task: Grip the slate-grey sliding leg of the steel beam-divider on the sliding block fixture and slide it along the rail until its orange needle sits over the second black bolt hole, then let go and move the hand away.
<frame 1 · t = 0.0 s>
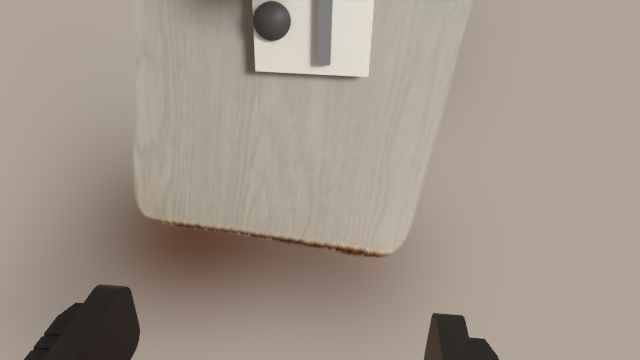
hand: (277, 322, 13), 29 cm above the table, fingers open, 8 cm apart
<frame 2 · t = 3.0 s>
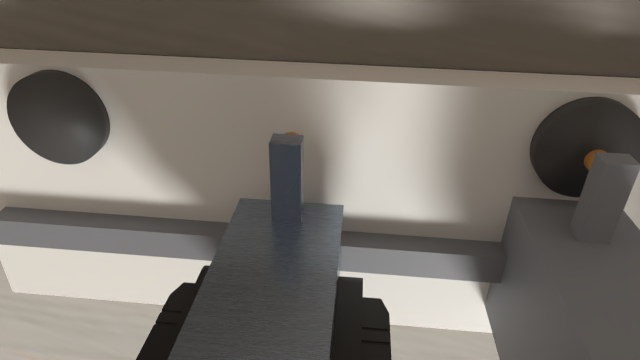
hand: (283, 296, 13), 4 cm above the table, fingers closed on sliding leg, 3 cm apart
sliding leg: (267, 331, 11), point 7 cm above the table, slide at 0.0 cm, touching gripper
sliding block fixture: (302, 190, 17), on the table
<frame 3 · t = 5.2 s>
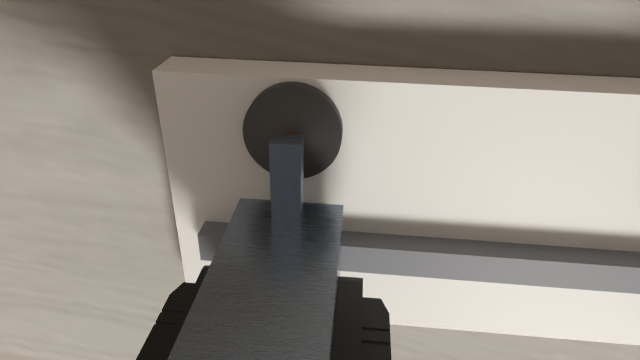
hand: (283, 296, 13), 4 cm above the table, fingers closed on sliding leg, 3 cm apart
sliding leg: (267, 331, 11), point 7 cm above the table, slide at 6.9 cm, touching gripper
sliding block fixture: (507, 204, 16), on the table
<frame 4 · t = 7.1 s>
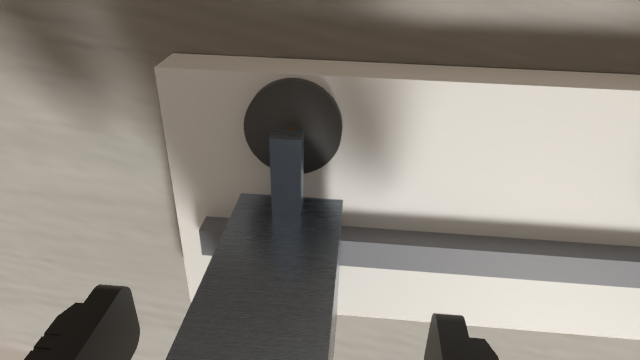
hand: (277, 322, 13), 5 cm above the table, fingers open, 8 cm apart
sliding leg: (267, 323, 11), point 7 cm above the table, slide at 6.9 cm
sliding block fixture: (505, 199, 16), on the table
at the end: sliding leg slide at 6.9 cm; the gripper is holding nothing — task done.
